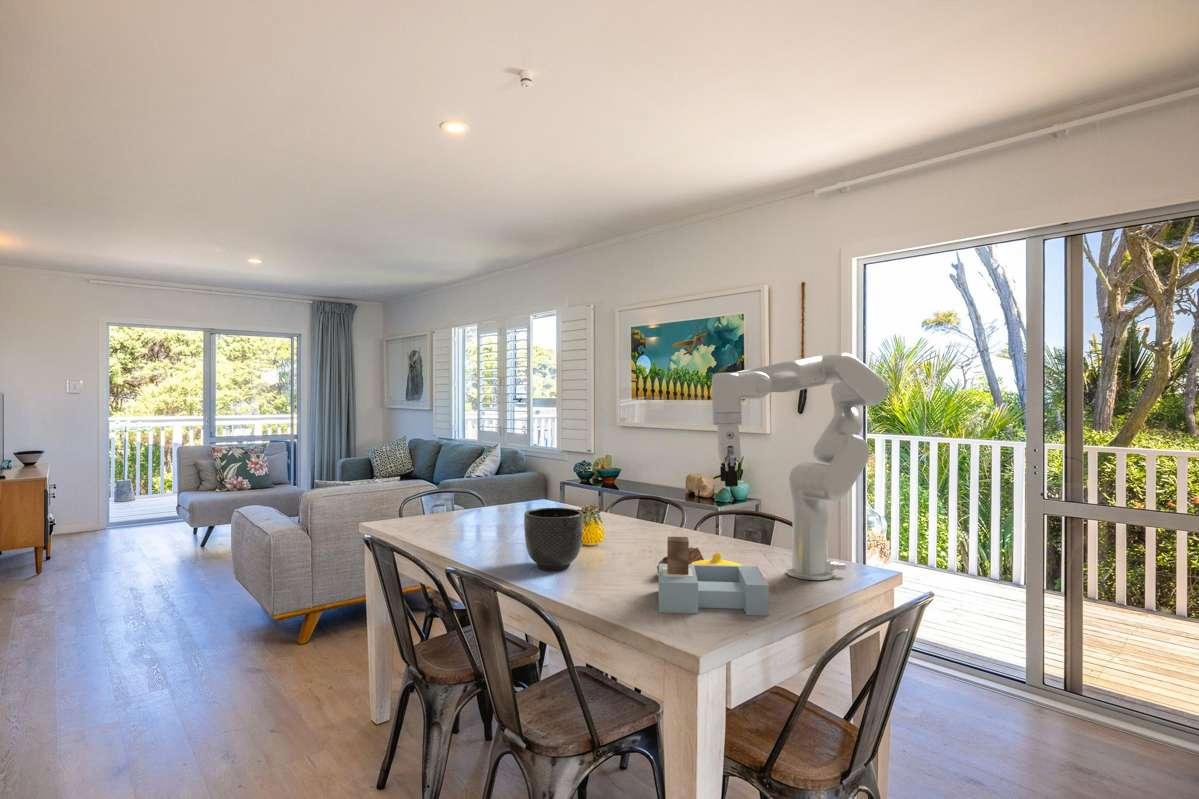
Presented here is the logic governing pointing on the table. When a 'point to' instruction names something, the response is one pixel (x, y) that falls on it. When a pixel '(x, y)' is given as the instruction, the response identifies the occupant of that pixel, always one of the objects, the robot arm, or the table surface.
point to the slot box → (714, 589)
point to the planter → (553, 536)
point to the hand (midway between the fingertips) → (729, 483)
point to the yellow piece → (716, 561)
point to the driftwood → (693, 556)
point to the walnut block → (678, 555)
